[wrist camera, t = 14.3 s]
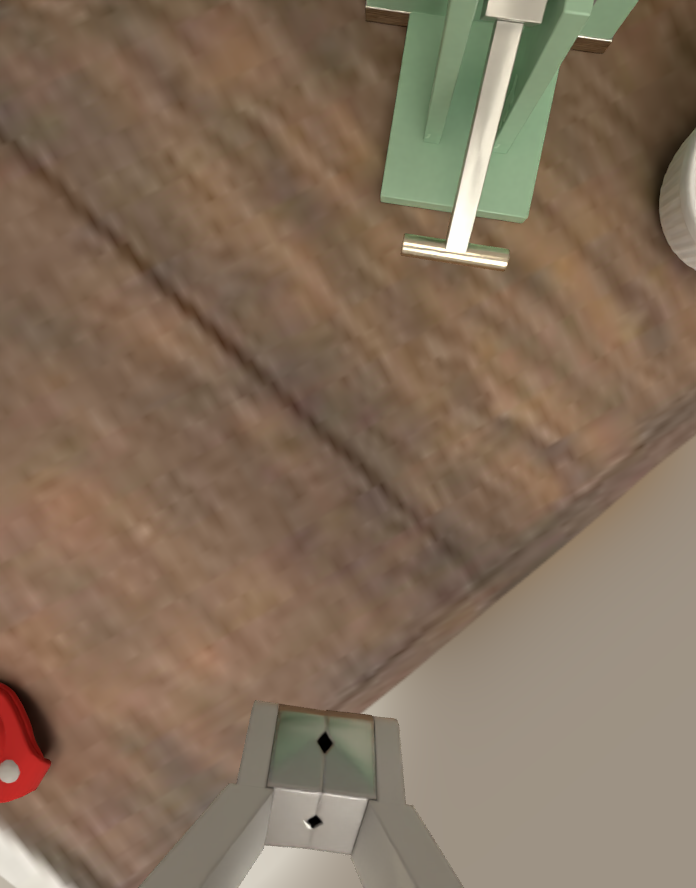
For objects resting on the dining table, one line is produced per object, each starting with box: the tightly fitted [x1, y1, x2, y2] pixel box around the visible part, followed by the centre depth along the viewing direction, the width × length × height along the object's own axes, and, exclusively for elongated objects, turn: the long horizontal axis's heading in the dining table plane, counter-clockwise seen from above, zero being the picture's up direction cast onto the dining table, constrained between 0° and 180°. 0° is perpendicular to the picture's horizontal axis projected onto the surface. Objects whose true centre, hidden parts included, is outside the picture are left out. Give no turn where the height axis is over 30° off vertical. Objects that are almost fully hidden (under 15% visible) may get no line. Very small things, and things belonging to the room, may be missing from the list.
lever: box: [401, 0, 548, 271], centre depth 22 cm, size 12×5×2 cm, turn 170°
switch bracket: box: [380, 0, 597, 223], centre depth 24 cm, size 11×9×13 cm
